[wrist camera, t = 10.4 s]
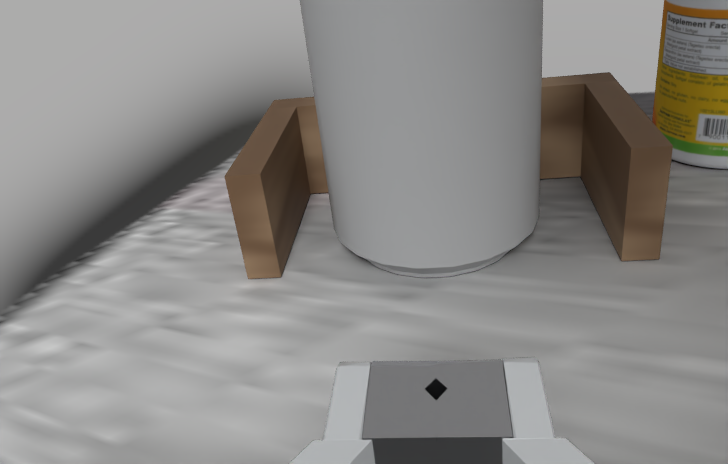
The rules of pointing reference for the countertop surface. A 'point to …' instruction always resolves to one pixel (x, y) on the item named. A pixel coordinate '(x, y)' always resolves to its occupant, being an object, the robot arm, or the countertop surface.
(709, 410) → the countertop surface
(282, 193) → the corral
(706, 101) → the supplement bottle
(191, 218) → the countertop surface
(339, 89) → the can
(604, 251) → the countertop surface
